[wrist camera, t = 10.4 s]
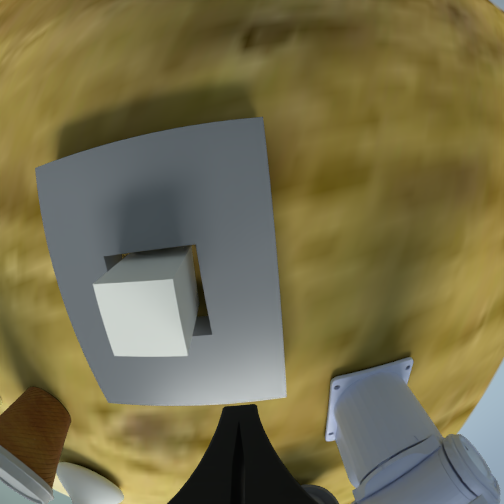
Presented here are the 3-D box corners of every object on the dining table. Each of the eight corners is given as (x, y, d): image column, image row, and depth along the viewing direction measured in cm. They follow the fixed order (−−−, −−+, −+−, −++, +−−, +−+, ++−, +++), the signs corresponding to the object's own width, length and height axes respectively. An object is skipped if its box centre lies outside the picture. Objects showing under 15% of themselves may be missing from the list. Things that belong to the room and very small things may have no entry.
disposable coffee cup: (5, 375, 20) (-43, 437, 9) (49, 373, 20) (-7, 456, 8) (49, 431, 23) (17, 495, 11) (99, 435, 23) (69, 517, 11)
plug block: (199, 303, 18) (188, 356, 13) (143, 306, 18) (114, 356, 12) (191, 245, 17) (172, 278, 12) (132, 250, 17) (92, 284, 11)
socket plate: (281, 375, 21) (286, 397, 18) (117, 383, 20) (108, 402, 18) (258, 124, 16) (262, 117, 13) (56, 166, 15) (35, 168, 13)
